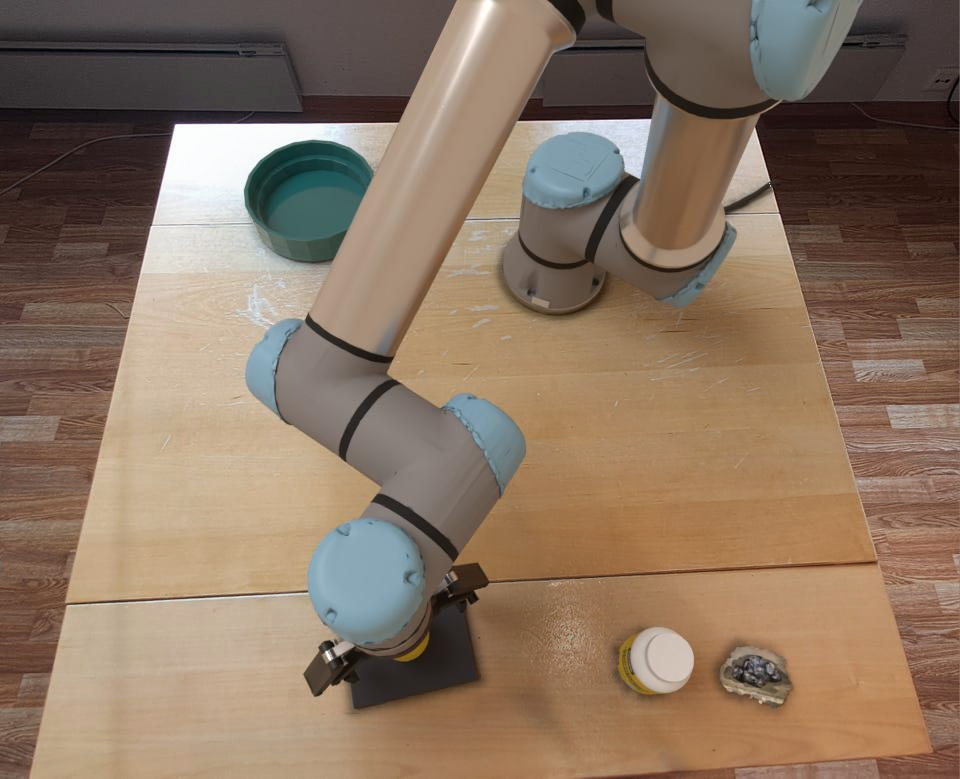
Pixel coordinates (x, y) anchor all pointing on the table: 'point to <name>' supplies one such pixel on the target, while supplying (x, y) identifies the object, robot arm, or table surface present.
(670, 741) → the table surface
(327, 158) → the bowl
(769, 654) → the mineral rock
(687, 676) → the pill bottle
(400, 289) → the robot arm
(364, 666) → the mat
